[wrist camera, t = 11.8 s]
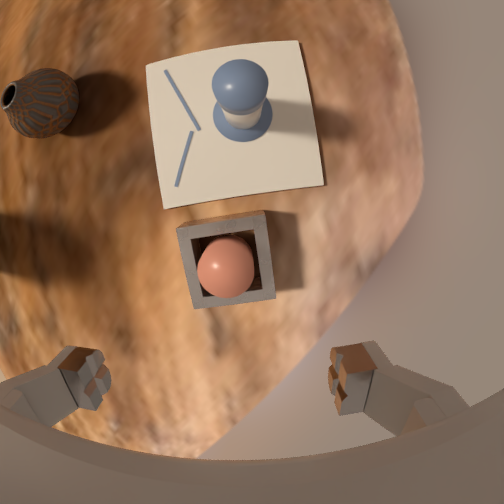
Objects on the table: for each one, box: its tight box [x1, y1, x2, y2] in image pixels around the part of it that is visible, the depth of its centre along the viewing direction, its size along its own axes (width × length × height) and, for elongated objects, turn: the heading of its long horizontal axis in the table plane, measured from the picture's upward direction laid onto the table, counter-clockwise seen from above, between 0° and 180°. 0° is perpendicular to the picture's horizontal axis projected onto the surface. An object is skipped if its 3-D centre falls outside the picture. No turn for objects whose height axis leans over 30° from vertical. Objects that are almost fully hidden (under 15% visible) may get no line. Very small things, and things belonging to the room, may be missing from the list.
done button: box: [197, 234, 254, 298], centre depth 22 cm, size 4×4×3 cm
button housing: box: [176, 210, 276, 309], centre depth 23 cm, size 7×7×3 cm
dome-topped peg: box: [212, 59, 269, 130], centre depth 17 cm, size 3×3×8 cm
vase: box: [1, 68, 79, 138], centre depth 16 cm, size 7×7×9 cm
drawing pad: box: [146, 41, 324, 209], centre depth 21 cm, size 14×14×1 cm
